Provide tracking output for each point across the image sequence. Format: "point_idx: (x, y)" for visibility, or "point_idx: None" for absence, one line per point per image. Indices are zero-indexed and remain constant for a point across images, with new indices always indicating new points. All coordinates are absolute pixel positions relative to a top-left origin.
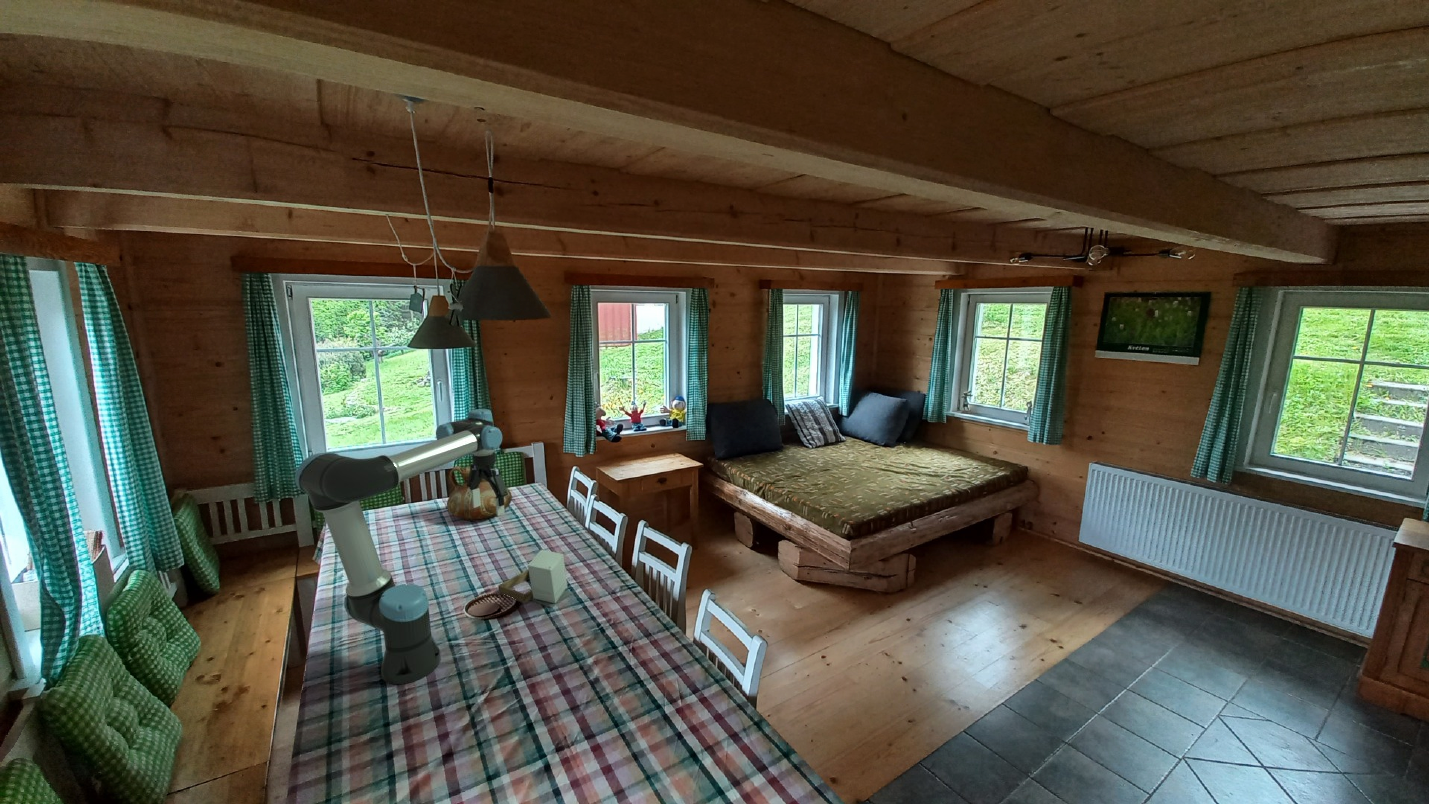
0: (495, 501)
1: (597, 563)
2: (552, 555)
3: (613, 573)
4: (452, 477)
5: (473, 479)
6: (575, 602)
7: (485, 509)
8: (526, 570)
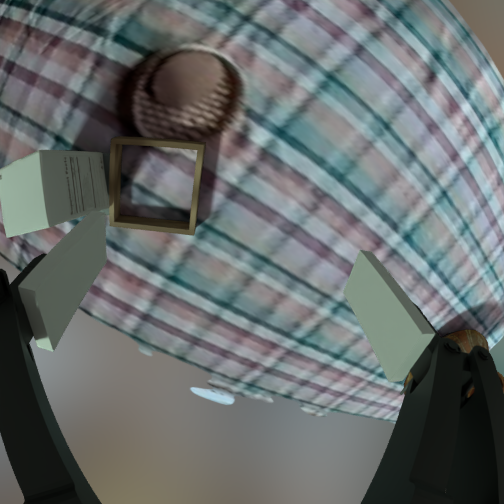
0: (53, 266)
1: (115, 317)
2: (16, 218)
3: None
4: (499, 378)
5: (463, 428)
6: None
7: None
8: (194, 230)
